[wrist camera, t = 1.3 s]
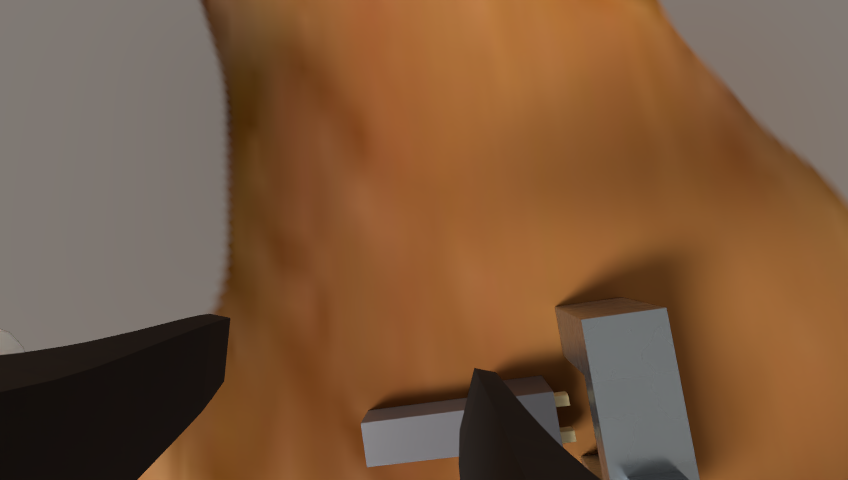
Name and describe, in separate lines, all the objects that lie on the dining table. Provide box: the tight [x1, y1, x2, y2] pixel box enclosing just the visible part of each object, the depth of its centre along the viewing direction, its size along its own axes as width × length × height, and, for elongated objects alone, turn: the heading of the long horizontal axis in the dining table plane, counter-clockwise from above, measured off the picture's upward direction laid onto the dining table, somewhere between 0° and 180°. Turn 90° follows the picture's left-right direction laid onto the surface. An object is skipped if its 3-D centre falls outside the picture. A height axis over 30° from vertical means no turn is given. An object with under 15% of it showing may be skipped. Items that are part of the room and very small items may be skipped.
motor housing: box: [555, 297, 700, 480], centre depth 21 cm, size 4×12×6 cm, turn 9°
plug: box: [361, 375, 576, 467], centre depth 23 cm, size 12×4×3 cm, turn 99°
